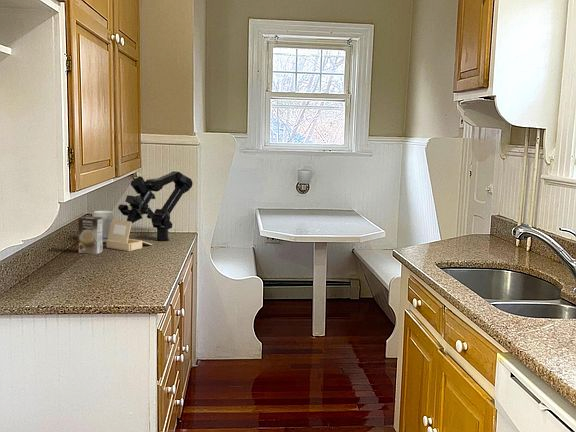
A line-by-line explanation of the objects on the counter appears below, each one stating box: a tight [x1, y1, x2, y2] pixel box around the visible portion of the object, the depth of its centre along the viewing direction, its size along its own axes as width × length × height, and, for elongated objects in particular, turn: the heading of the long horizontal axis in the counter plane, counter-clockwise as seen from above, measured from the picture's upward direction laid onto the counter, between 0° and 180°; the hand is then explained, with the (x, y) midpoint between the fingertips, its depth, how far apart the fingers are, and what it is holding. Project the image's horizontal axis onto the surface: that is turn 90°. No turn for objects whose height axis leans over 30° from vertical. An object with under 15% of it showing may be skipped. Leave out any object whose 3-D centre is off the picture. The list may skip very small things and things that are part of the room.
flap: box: [108, 218, 133, 243], centre depth 281 cm, size 10×12×1 cm
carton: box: [106, 238, 154, 252], centre depth 288 cm, size 18×15×4 cm
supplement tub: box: [92, 210, 114, 243], centre depth 300 cm, size 10×10×15 cm
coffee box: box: [78, 215, 103, 255], centre depth 272 cm, size 9×6×16 cm
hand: (127, 224), depth 285 cm, fingers closed
